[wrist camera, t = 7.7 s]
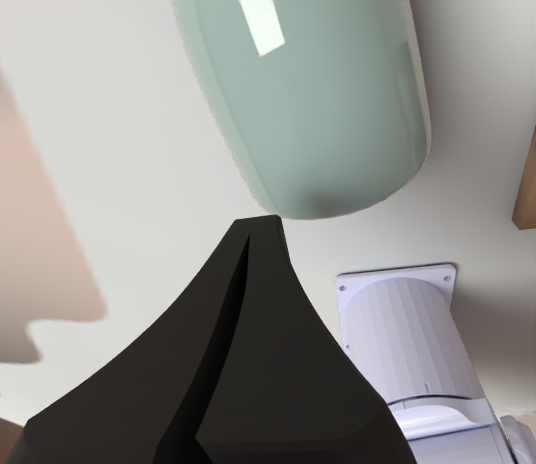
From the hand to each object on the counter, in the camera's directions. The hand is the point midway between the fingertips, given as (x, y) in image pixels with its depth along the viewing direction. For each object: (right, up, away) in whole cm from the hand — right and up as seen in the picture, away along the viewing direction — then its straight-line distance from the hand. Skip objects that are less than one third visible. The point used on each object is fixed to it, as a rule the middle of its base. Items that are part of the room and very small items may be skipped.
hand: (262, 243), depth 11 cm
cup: (-1, +11, 0) cm, 11 cm away
